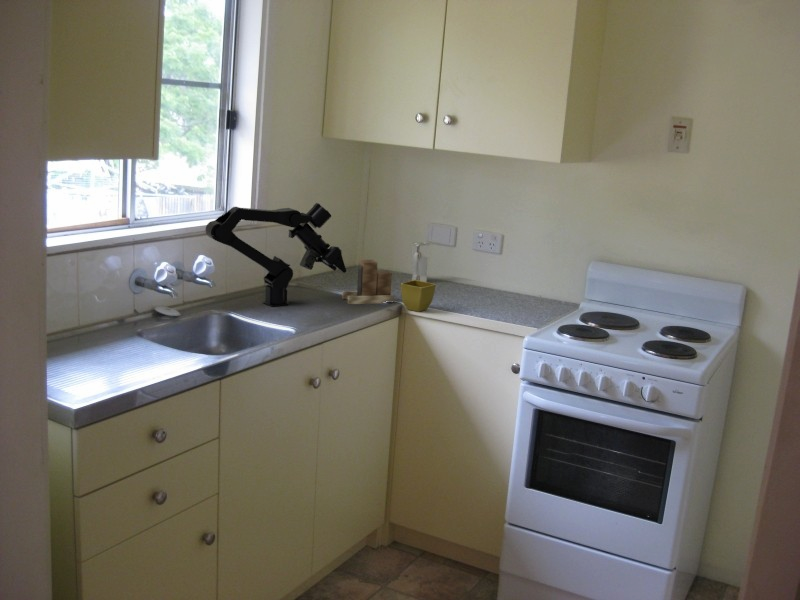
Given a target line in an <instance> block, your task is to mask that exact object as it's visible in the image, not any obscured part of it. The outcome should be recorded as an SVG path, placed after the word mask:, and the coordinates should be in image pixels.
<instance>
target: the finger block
mask: <svg viewBox="0 0 800 600" xmlns="http://www.w3.org/2000/svg"><path fill="white" fill-rule="evenodd" d="M378 263H379V262H377V261H376V260H374V259H359V260H358V265H357V288H356V289H357V290H356V291H357V296H376V286H377V271H378Z"/></svg>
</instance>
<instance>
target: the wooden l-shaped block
mask: <svg viewBox="0 0 800 600" xmlns="http://www.w3.org/2000/svg"><path fill="white" fill-rule="evenodd" d="M392 276H393V274H392V272H391V271H389V270H377V286H376V296H357V290H343V291H342V292H341V293H342V294H341V298H342V300H347V305H361V304H362V305H368V304H369V305H371V304H372V305H373V304H384V303H383V302H386V301H394V299H395V297H394V296H395V295H393V294H391V293H392Z"/></svg>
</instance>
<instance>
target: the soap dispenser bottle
mask: <svg viewBox="0 0 800 600" xmlns="http://www.w3.org/2000/svg"><path fill="white" fill-rule="evenodd" d="M411 248H412V249H411V265H412V277H411V280H410V281H412V280H418V281H423V282H428V279H427V271H428V267H429V263H430V258H431V257H430V255H431V244H430V243H428V242H426V241H425V242H422V241H416V242H413V243H412V247H411Z"/></svg>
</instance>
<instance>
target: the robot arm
mask: <svg viewBox="0 0 800 600" xmlns="http://www.w3.org/2000/svg"><path fill="white" fill-rule="evenodd" d="M331 218H332V215H331V213H330V212H329V211H328V210H327V209H326V208H325V207H323V206H322V205H321V204H320V203H318V202H316V203H314V205H313V206H312V207H311V208H310V209H309V210H308V211H307V212H306V213H304V212H300V211H299V210H297V209H294V208H290V207H285V208H276V209H272V210H271V209H261V208H260V209H259V208H251V207H250V208H247V207H239V206H233V207H231V208H230V209H229V210H228V211H227V212H224V213H223V214H222V215H220V216H218V217H217V218H216V219H215V220H210V221H209V222H208V223H207V224H206V226H205V235H206V236H207V237H208V238H210V239H212V240H213V241H216V242H218V243H221V244H222V245H226V246H227V247H231V248H232V249H234V250H236V251H237V252H239V253H240V254H242V255H243V256H244V257H247V258H248V259H249V260H251V261H252V262H254V263H256V264H258V265H259V266H261V267H262V268H263V270H264V271H265V272H267V274H266V275H265V276H264V277H263V281H264V284H266V285H265V286H264V287H265V288H264V289H265V290H264V291H265V293H264V296H265V298H264V300H263V301H262V304H264V303H265V305H268V306H269V305H270V307H278V306H288V305H289V302H288V289H287V288H288V286H289V283H290V282H291V281H292V279H293V277H294V270H293V268H291V267H290V266H291V264H289V263H288V262H285V261H284V260H283V259H281V258H279V257H278V256H276V255H274V256H273V257H272V258H270V257H269V256H267V255H265V254H264V253H263V252H261V251H259V250H258V249H256V248H255V247H252V245H250V244H248V243H247V242H245V241H244V240H242V239H240V238H239V237H238V236H237V235H236V234H235V233H234V232H233V230H234V229H235V228H236V227H237V225H238V224H239V223H240V222H241V221H249V222H250V221H251V222H261V223H263V222H264V223H275V224H279V225H281V226H282V225H283V226H285V227H288V228H293V229H288V238H289V239H294V238H295V237H297V238H298V239H297V240H299V241H300V242H301V244H303V245H304V246H303V248H304V249H305V253H304V254H303V256H302V258H301V260H300V263H299V266H300V267H302V268H304V269H306V270H309V271H312V270H313V268H314V264H315V263H322V264H323V265H325V266H326V267H327V268H330V269H331V270H333V271H337V270H339V271H340V272H342V273H343V274H345V273H346V272H347V268H346V264H345V262H344V258H343V254H342V250H341V249H340V247H338V246H332V245H330V244H329V243H328V242H326V241H325V240H324V239H323V236H322V235H321V234H319V233H318V232H317V231H316V229H321V228H322V227H323V226H324V225H325V224H326V223H327V222H328V221H329V220H330V219H331Z"/></svg>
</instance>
